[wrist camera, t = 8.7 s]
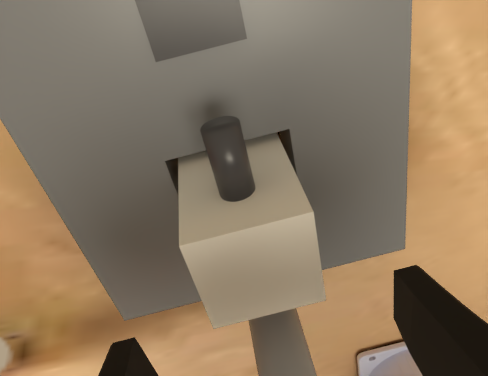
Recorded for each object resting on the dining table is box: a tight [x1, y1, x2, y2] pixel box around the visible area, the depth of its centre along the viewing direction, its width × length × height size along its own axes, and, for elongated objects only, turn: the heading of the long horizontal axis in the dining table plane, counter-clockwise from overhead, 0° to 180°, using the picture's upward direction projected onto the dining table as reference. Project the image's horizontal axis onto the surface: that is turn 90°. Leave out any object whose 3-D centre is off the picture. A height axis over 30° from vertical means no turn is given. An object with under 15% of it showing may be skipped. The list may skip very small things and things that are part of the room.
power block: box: [0, 0, 412, 321], centre depth 15 cm, size 14×20×3 cm
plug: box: [178, 116, 326, 329], centre depth 15 cm, size 4×6×8 cm, turn 12°
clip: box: [249, 308, 317, 376], centre depth 19 cm, size 12×2×10 cm, turn 113°
